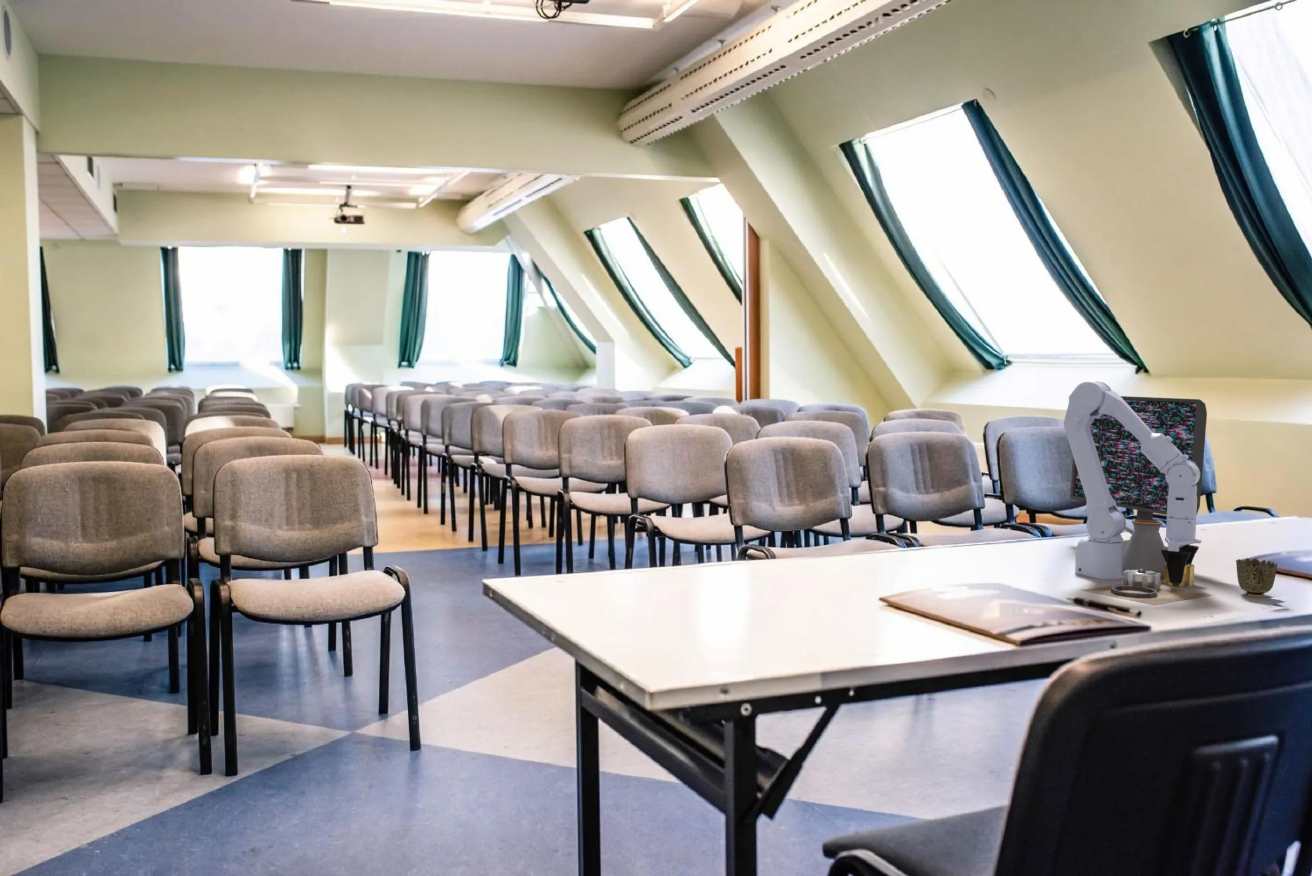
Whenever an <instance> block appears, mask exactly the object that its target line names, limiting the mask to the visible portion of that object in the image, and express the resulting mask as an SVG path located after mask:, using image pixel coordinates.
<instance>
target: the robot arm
mask: <svg viewBox="0 0 1312 876" xmlns="http://www.w3.org/2000/svg"><path fill="white" fill-rule="evenodd" d="M1120 396H1121V395H1120V394H1118V392H1116V391H1114V390H1112V389H1111V387H1110V386H1109V385H1108V384H1107V383H1105V382H1102V381H1084V382H1081V383H1080V384H1078V385H1076V387H1075V388H1074V389H1073V391H1072V392H1071V394H1070V395H1069V396H1068V405H1067V409H1066V413H1065V415H1064V420H1063V427H1064V431H1065V434H1066V437H1067V441H1068V443H1069V447H1070V451H1071V453H1072V458H1073V457H1074V460H1075V464H1076V467H1077V470H1078V474H1079V477H1080V480H1081V483H1082V487H1083V490H1084V493H1085V496H1086V500H1087V501H1086V504H1085V505H1086V506H1085V509H1086V512H1087V513H1086V512H1085V513H1086V516H1087V521H1086V530H1087V533H1088V534H1089V535H1088V537H1083V538H1081V539H1080V540H1079V541H1078V542H1077V544H1076V548H1075V564H1074V565H1075V566H1074V567H1075V569H1074V573H1075V574H1077V575H1083V576H1087V577H1091V578H1094V579H1095V578H1096V579H1103V580H1119V579H1123V573H1122V564H1123V541H1124V538H1123V537H1122V533H1123V532H1124V531H1125V530H1124V529H1125V527H1127V520H1126V516H1125V515H1124V514H1123V513H1122V512H1121V510H1119V507H1117V505H1116V502H1115V501H1114V499H1113V498H1112V496H1111V495H1110V492H1109V489H1108V486H1107V483H1106V479H1105V476H1104V473H1103V470H1102V466H1101V463H1100V460H1099V457H1098V454H1097V450H1096V447H1095V444H1094V441H1093V437H1092V434H1091V431H1090V425H1091V423H1092V422H1093V420H1094V419H1095V417H1096V416H1097V414H1098V413H1103V414H1107V415H1110V416H1114V417H1115V418H1116V419H1117V420H1118V421H1119V422H1120V423H1121V424H1122V425H1123V426H1124V427H1125V428H1127V429H1128V430H1129V431H1130V432H1131V433H1132V434H1133V435H1134V436H1135V437H1136V438H1137V439H1138V440H1139V441H1140V442H1141V452H1142V453H1143V454H1144V455H1145V456H1146V457H1147V458H1148V459H1149V460H1150V461H1151V462H1152V463H1153V464H1154V465H1155V466H1156V467H1157V468H1158V469H1159V470H1160V472H1161V473H1165V474H1166V475H1165V478H1166V481H1167V483H1168V484H1169V495H1168V502H1167V515H1166V527H1165V528H1166V529H1165V530H1166V531H1165V537H1164V541H1165V542H1166V544H1167V547H1168V549H1166V548H1163V549H1161V553H1162V555H1163V557H1164V559H1165V562H1166V565H1167V569H1168V575H1169V580H1170V583H1178V584H1181V582H1182V579H1183V574H1184V569H1185V565H1186V563H1190V564H1192V563H1193V561H1194V558H1195V556H1196V554H1197V552H1198V550H1199V548H1200V546H1199V545H1195V544H1202V541H1203V540H1202V539H1199V538H1196V534H1197V533H1196V531H1197V530H1196V529H1197V516H1196V514H1197V515H1198V513H1197V485H1195V484H1196V483H1197V482H1198V481H1199V478H1200V470H1199V468H1198V467H1197V466H1196V463H1195V462H1193V461H1190V460H1187V459H1188V458H1189V457H1188V456H1187V455H1186V454H1184V455H1183V454H1182V453H1181V452H1180V451H1179V450H1178V449H1177V448H1176V447H1175V446H1174V445H1173V444H1172V443H1171V442H1172V441H1173V439H1172V438H1171V437H1170V436H1167V437H1165V436H1164V435H1163V434H1161V433H1153V432H1152V431H1151V430H1150V429H1149V428H1148V426H1147V425H1146V424H1145V423H1144V422H1143V421H1142V420H1141V419H1140V417H1139V416H1138V415H1137V414H1136V413H1135V412H1134V411H1133V410H1132V409H1131V407H1130V406H1129V405H1128V404H1127V403H1126V402H1125V401H1124V400H1123V399H1122V398H1121V397H1120ZM1194 485H1195V486H1194ZM1192 486H1193V487H1192ZM1193 544H1194V545H1193Z"/></svg>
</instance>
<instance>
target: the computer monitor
mask: <svg viewBox="0 0 1312 876" xmlns="http://www.w3.org/2000/svg"><path fill="white" fill-rule="evenodd" d="M1119 396H1120V397H1121V398H1122V399H1123V400H1124V401H1125V402H1126V403H1127V404H1128V405H1129V406H1130V407H1131V409H1132V410H1133V411H1134V412H1135V413H1136V414H1137V415H1138V416H1139V417H1140V419H1141V420H1142V421H1143V422H1144V423H1145V424H1146V425H1147V426H1148V428H1149V429H1150V430H1151V431H1152V432H1153V433H1161V434H1163V435H1164V436H1165V437H1167V436H1170V437H1171V438H1172V439H1173V441H1172V442H1171V443H1172V444H1173V445H1174V446H1175V447H1176V448H1177V449H1178V450H1179V451H1180V452H1181V453H1182V454H1183V455H1184V454H1186V455H1187V456H1188V457H1189V458H1188V459H1187V460H1190V461H1193V462H1195V463H1196V466H1197V467H1198V468H1199V470H1200V478H1199V481H1198V482H1197V483H1196V484H1195V485H1197V514H1196V517H1197V515H1198V513H1199V510H1200V507H1201V499H1202V498H1201V497H1202V496H1201V495H1202V482H1203V469H1204V457H1205V456H1204V455H1205V445H1206V444H1205V442H1206V434H1207V433H1206V431H1207V420H1208V419H1207V417H1208V411H1207V405H1206V403H1205V402H1204V401H1203V400H1201V399H1200V398H1199V399H1198V398H1176V397H1175V398H1174V397H1153V396H1151V397H1149V396H1148V397H1147V396H1127V395H1126V396H1125V395H1124V396H1123V395H1122V396H1121V395H1119ZM1090 431H1091V434H1092V437H1093V441H1094V444H1095V447H1096V450H1097V454H1098V457H1099V460H1100V463H1101V466H1102V470H1103V473H1104V476H1105V479H1106V483H1107V486H1108V489H1109V492H1110V495H1111V496H1112V498H1113V499H1114V501H1115V502H1116V505H1117V508H1122V509H1123V508H1125V509H1129V510H1136V517H1135V518H1136V519H1135V520H1153V521H1154V519H1153V518H1154V517H1153V516H1154V514H1158V515H1163V516H1164V515H1165V516H1167V502H1168V495H1169V484H1168V483H1167V481H1166V478H1165V475H1166V474H1165V473H1161V472H1160V470H1159V469H1158V468H1157V467H1156V466H1155V465H1154V464H1153V463H1152V462H1151V461H1150V460H1149V459H1148V458H1147V457H1146V456H1145V455H1144V454H1143V453H1142V452H1141V442H1140V441H1139V440H1138V439H1137V438H1136V437H1135V436H1134V435H1133V434H1132V433H1131V432H1130V431H1129V430H1128V429H1127V428H1125V427H1124V426H1123V425H1122V424H1121V423H1120V422H1119V421H1118V420H1117V419H1116V418H1115V417H1114V416H1110V415H1107V414H1103V413H1098V414H1097V416H1096V417H1095V419H1094V420H1093V422H1092V423H1091V425H1090ZM1071 465H1072V467H1071V478H1070V493H1069V494H1070V495H1069V499H1073V500H1078V501H1085V502H1087V500H1086V496H1085V493H1084V490H1083V487H1082V483H1081V480H1080V477H1079V474H1078V470H1077V467H1076V464H1075V460H1074V457H1073V456H1072V464H1071ZM1195 485H1194V486H1195ZM1192 487H1193V486H1192ZM1128 541H1129V539H1126V540H1123V551H1124V549H1125V547H1126V545H1127V543H1128ZM1164 546H1165V545H1164ZM1165 548H1166V549H1168V546H1165Z"/></svg>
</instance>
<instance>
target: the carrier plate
mask: <svg viewBox="0 0 1312 876" xmlns="http://www.w3.org/2000/svg"><path fill="white" fill-rule="evenodd" d="M1113 586H1123V583H1119V584H1111V585H1104V586H1098V587H1091V588H1083V589H1081V591H1083V592H1088V593H1093V594H1096V595H1103V596H1108V597H1112V598H1117V599H1122V600H1126V601H1131V602H1132V601H1133V602H1137V603H1142V604H1147V605H1151V606H1156V605H1164V604H1168V603H1169V604H1170V603H1175V602H1176V603H1177V602H1181V601H1182V602H1183V601H1188V600H1193V599H1201V598H1207V597H1212V596H1213V595H1211V594H1206V593H1200V592H1195V591H1190V590H1185V589H1178V588H1174V587H1169V586H1164V585H1160V588H1158V589H1157V590H1156V591H1157V596H1156V597H1152V598H1134V597H1125V596H1120V595H1115V594H1113V593H1111V588H1112V587H1113ZM1118 591H1123V592H1129V593H1148V592H1143V591H1135V590H1118Z"/></svg>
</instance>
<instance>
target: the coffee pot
mask: <svg viewBox="0 0 1312 876" xmlns="http://www.w3.org/2000/svg"><path fill="white" fill-rule="evenodd" d="M1084 512H1085V513H1086V514H1087V512H1086V508H1085V509H1084ZM1130 522H1131V524H1132V525H1133V529H1131V528H1130V527H1128V526H1126V527H1125V529H1124V531H1126V532H1127V533H1129V534H1130V535H1131V536H1130V537H1129V539H1128V540H1129V541H1128V543H1127V545H1126V547H1125V549H1124V551H1123V564H1122V574H1123V571H1125V570H1138V569H1145V570H1146V571H1154V572H1155V573H1160V574H1161V575H1160V579H1161V578H1163V579H1164V566H1165V563H1166V562H1165V559H1164V557H1163V555H1162V553H1161V549H1163V548H1165V543H1164V541H1163V539H1162V536H1161V533H1160V528H1161V526H1162V525H1163V522H1162V521H1160V520H1159V521H1158V520H1154V519H1153V520H1136V519H1132V520H1131V521H1130Z"/></svg>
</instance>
